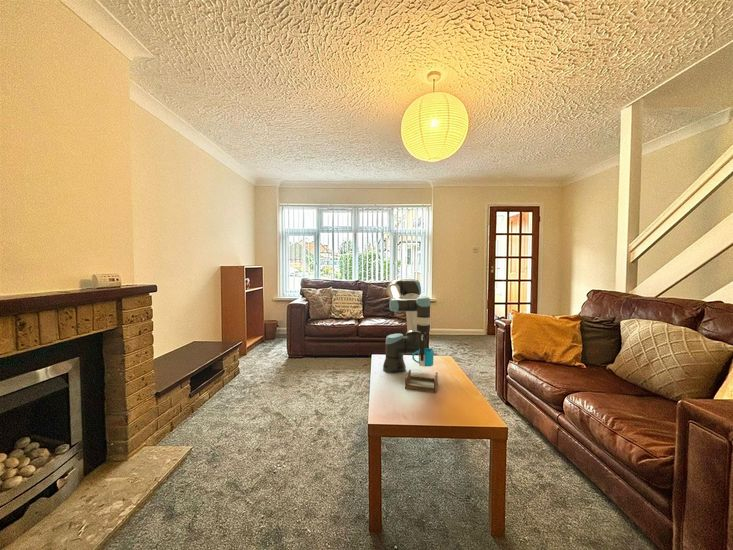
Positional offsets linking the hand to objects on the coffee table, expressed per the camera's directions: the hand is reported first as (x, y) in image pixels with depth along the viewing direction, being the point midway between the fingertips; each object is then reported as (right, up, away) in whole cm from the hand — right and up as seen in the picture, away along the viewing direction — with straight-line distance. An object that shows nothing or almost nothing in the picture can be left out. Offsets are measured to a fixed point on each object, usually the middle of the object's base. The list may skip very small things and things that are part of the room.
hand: (422, 363), depth 171 cm
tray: (-1, -13, 0) cm, 13 cm away
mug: (0, 0, 0) cm, 1 cm away
